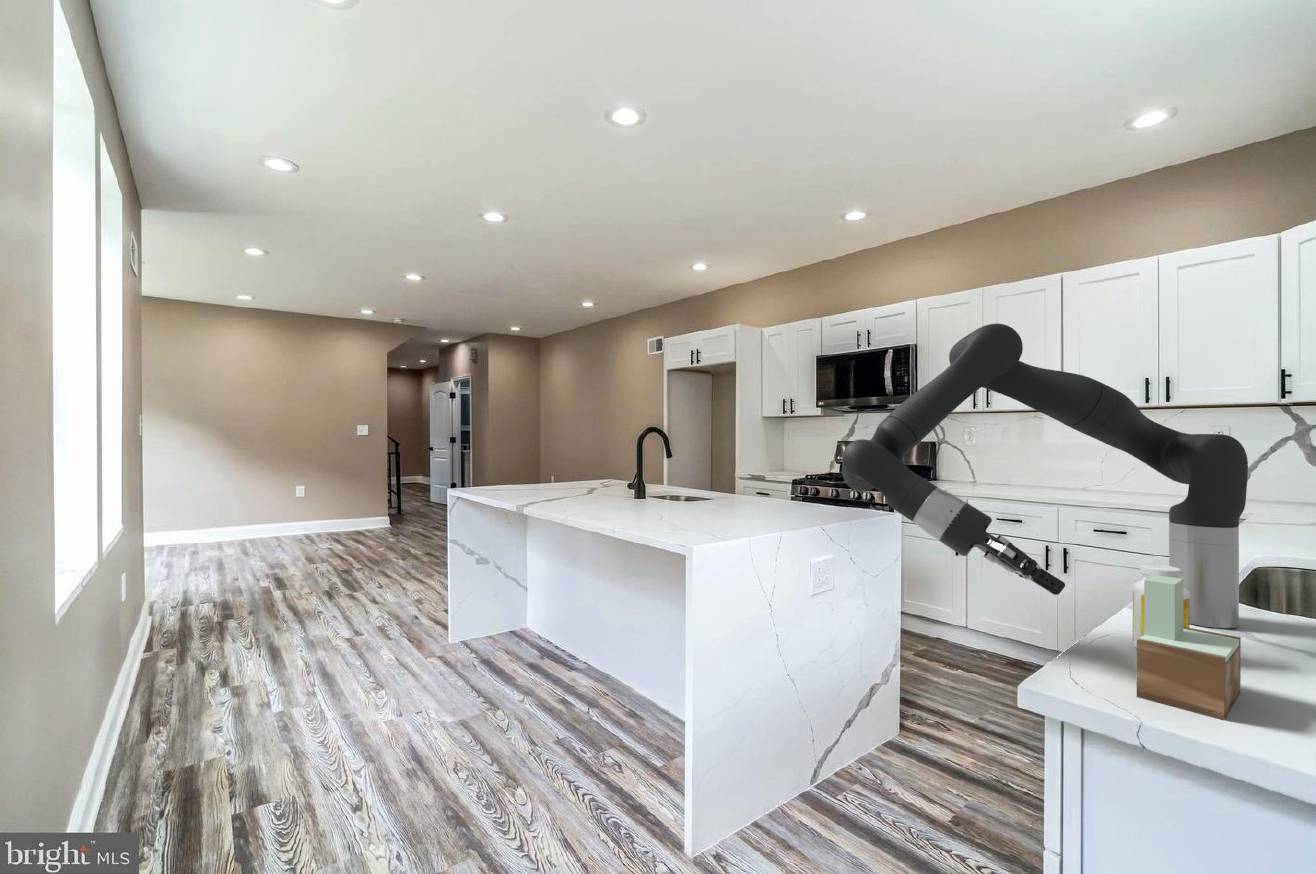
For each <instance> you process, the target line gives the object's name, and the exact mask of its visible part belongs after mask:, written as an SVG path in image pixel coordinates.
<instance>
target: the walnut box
mask: <svg viewBox="0 0 1316 874" xmlns="http://www.w3.org/2000/svg"><path fill="white" fill-rule="evenodd" d="M1183 629H1187V630H1193V631H1198V632H1203V633H1209V634H1214V635H1219V636H1224V637H1230V638H1235V639H1239V646H1238V647H1237V649H1236V650H1235V651H1234V653H1233V654H1232V656H1231V657H1230V658H1229V660H1228V661H1227V662H1225V657H1222V656H1218V655H1213V654H1208V653H1203V652H1198V651H1194V650H1189V649H1184V648H1179V647H1174V646H1170V645H1165V644H1160V643H1155V642H1150V641H1146V640H1141V639H1138V640H1137V648H1136V697H1137V698H1140V699H1144V700H1149V701H1152V702H1155V703H1159V704H1163V705H1167V706H1170V707H1174V708H1177V709H1181V710H1186V711H1188V712H1194V713H1196V714H1200V715H1203V716H1204V715H1205V716H1207V717H1211V718H1212V717H1213V718H1214V719H1215V718H1216V719H1218V718H1219V720H1223V721H1225V719H1226V717H1227V716H1228V715H1229V713H1230V711H1231V709H1232V708H1233V705H1234V704H1235V702H1236V701H1237V700H1238V698H1239V696H1240V694H1241V667H1242V666H1241V660H1242V659H1241V657H1242V655H1241V652H1242V651H1241V639H1242V638H1241V636H1236V635H1230V634H1226V633H1225V634H1224V633H1220V632H1215V631H1214V632H1213V631H1210V630H1203V629H1197V628H1194V627H1193V628H1192V627H1190V628H1188V627H1183Z"/></svg>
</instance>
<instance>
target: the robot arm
mask: <svg viewBox="0 0 1316 874" xmlns="http://www.w3.org/2000/svg"><path fill="white" fill-rule="evenodd" d="M1023 345H1024V344H1023V341H1022V338H1021V336H1020V334H1019V333H1018V331H1016V330H1015V329H1014V328H1012V327H1011V326H1009V325H1008V324H1003V323H990V324H986V325H983V326H980V327H978V328H977V329H975V330H973V331H972V332H970V333H968V334H967V335H965V336H963V337H962V338H960V339H959V340H958V341H957V342H956V343H954V345H953V346H952V347H951V349H950V351H949V354H948V361H949V364H950V365H949V366H948V367H947V368H945V370H943V371H942V372H941V373H939V374H938V375H937V376H936V377H935V378H933V379H932V380H931V381H930V382H928V383H926V384H925V385H924V386H922V387H921V388H920V389H918V390H917V391H915V392H914V393H913V394H912V395H910V396H909V397H908V398H906V399H905V400H904V401H903V402H902V403H900V404H899V405H898V406H897V407H896V408H895V409H894V410H892V412H890V413H889V414H888V415H887V416H886V417H885V418H883V419H882V420H881V422H879V424H878V426H877V427H876V429H875V432H874V434H873V436H872V437H871V438H870V440H869V439H863V438H861V439H856V440H853V441H851V442H849V443H848V444H847V446H846V447H845V448H844V450H843V453H842V460H841V462H842V466H841V467H842V470H841V471H842V472H841V473H842V479H843V480H844V483H845V484H846V485H847V486H848V487H849V488H851V489H852V490H855V491H858V492H859V491H860V492H866V491H871V490H873V489H876V490H877V491H878V492H879V493H881V495H883V497H884V500H885V501H886V504H887V505H888V506H889V507H890V508H891V509H893V510H894V511H895V512H897V513H899V514H901V515H902V516H903V517H905V518H906V519H908V520H910V521H911V522H913V523H914V524H916V526H918V527H919V528H921V529H922V531H923V532H925V533H927V534H928V535H930V536H931V537H932V538H934V539H935V540H937V541H939V542H940V543H942V544H943V545H945V546H947V547H948V548H949V549H950V550H952V551H954V552H956V553H957V554H959V555H960V556H962V557H966V556H968V555H969V553H970V552H971V551H973V549H974V548H977V549H979V550H980V551H982V552H983V553H984V554H983V556H982V557H983V558H984V559H985V560H988V562H990V563H993V564H997V565H998V566H1000V567H1001V568H1003V569H1005V570H1006V571H1008V572H1009V573H1011V574H1012V573H1014V574H1016V575H1018V577H1019V578H1023V579H1024V580H1028V581H1031V582H1033V583H1034V584H1036V585H1038V586H1040V587H1041V588H1042V589H1045V590H1046V591H1047V592H1048V593H1050V594H1052V595H1054V596H1056V595H1059V594H1061V593H1062V591H1064V589H1065V587H1066V584H1065V582H1064V581H1062V580H1061V579H1059V578H1058V577H1056V576H1055V575H1053V574H1052V573H1050V572H1048V571H1047V570H1045V569H1044V568H1042V567H1041V565H1040V564H1039V563H1038V562H1037V560H1036V559H1032V558H1031V556H1029V555H1028V554H1027V553H1026V552H1025V551H1023V550H1022V549H1020V548H1019V547H1017V546H1015V545H1014V544H1013V543H1012V542H1010V540H1009V539H1008V538H1005V537H1004V536H1002V535H1000V534H998V536H995V535H992V534H990V533H988V532H987V530H988V528H989V527H990V525H991V523H992V521H993V519H992V517H991V516H989V515H988V514H986V513H984V512H983V511H982V510H980V509H977V508H976V507H975V506H973V505H971V504H970V503H968V502H966V501H964V500H963V499H961V498H959V497H958V496H957V495H955V494H953V493H951V492H949V491H947V490H945V489H942V488H941V487H938V486H937V485H936V484H934V483H932V482H930V481H929V480H927V479H925V478H924V477H922V476H920V475H919V474H917V473H915V472H913V471H912V470H911V469H910V468H909V467H908V466H907V465H906V464H905V463H904V462H903V461H902V459H903V458H905V456H906V455H907V453H909V452H910V451H911V450H912V449H914V448H915V447H916V446H917V445H919V443H920V442H921V441H922V440H924V439H925V438H926V437H927V436H928V435H929V434H930V433H931V432H932V431H933V430H934V429H935V428H937V427H938V426H939V425H940V424H941V423H942V422H943V421H944V420H945V419H946V418H947V417H948V416H949V415H950V414H951V413H952V412H953V411H954V410H956V409H957V408H958V407H959V406H960V405H961V404H963V403H964V402H965V401H966V400H967V399H968V398H969V397H971V396H972V395H973V394H974V393H977V391H979V390H980V389H981V388H984V389H986V390H990V391H992V392H994V393H997V394H1000V395H1003V396H1005V397H1008V398H1010V399H1013V400H1015V401H1017V402H1019V403H1021V404H1023V405H1025V406H1027V407H1028V408H1031V409H1033V410H1035V411H1037V412H1039V413H1042V414H1043V415H1046V416H1048V417H1049V418H1052V419H1053V420H1055V421H1057V422H1059V423H1061V424H1063V425H1065V426H1066V427H1069V428H1071V429H1073V430H1075V431H1077V432H1079V433H1081V434H1083V435H1085V436H1087V437H1088V436H1089V437H1091V438H1093V439H1095V440H1097V441H1099V442H1102V443H1103V444H1106V445H1108V446H1110V447H1112V448H1115V449H1117V450H1120V451H1122V452H1124V453H1126V454H1128V455H1130V456H1132V457H1134V458H1135V459H1137V460H1139V461H1140V462H1142V463H1144V464H1146V465H1147V466H1149V467H1150V468H1151V469H1153V470H1154V471H1156V472H1157V473H1159V474H1161V475H1163V476H1164V477H1166V478H1167V479H1170V480H1172V481H1173V482H1176V483H1180V484H1183V485H1184V484H1185V485H1188V490H1187V495H1186V496H1185V497H1186V498H1185V499H1183V500H1182V501H1181V502H1179V503H1176V504H1173V505H1171V507H1170V508H1169V511H1168V566H1171V567H1176V568H1179V569H1180V570H1181V577H1180V578H1181V579H1183V587H1185V588H1186V589H1187V590H1188V592H1189V618H1190V621H1189V622H1190V624H1189V625H1191V624H1192V625H1196V626H1201V627H1209V628H1217V629H1234V628H1235V629H1236V628H1238V627H1240V626H1239V625H1240V623H1239V619H1240V613H1239V612H1240V609H1239V608H1240V557H1239V556H1240V535H1239V534H1240V532H1239V531H1240V518H1241V516H1242V515H1243V512H1244V511H1245V508H1246V504H1247V503H1246V502H1247V489H1248V488H1247V487H1248V476H1249V474H1248V473H1249V462H1248V455H1247V452H1246V450H1245V448H1244V446H1243V444H1242V443H1241V442H1240V441H1239V440H1238V439H1236V438H1235V437H1232V436H1230V435H1227V434H1222V433H1221V434H1220V433H1186V432H1181V431H1178V430H1175V429H1173V428H1170V427H1167V426H1165V425H1163V424H1160V423H1157V422H1156V421H1153V420H1151V418H1148V417H1147V416H1146V415H1144V414H1143V412H1142V411H1141V410H1140V408H1139V407H1138V406H1137V405H1136V404H1135V402H1133V401H1132V399H1130V398H1129V397H1128V396H1127V395H1125V394H1124V393H1123V392H1121V391H1119V390H1118V389H1116V388H1114V387H1112V386H1109V385H1107V384H1105V383H1103V382H1101V381H1098V380H1097V379H1093V378H1091V377H1089V376H1086V375H1082V374H1078V373H1073V372H1067V371H1061V370H1055V369H1050V368H1049V369H1048V368H1044V367H1043V368H1042V367H1039V366H1034V365H1031V364H1028V363H1026V362H1023V361H1021V360H1020V359H1021V357H1022V355H1023V349H1024V347H1023ZM1022 564H1023V565H1022Z"/></svg>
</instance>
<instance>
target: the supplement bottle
mask: <svg viewBox="0 0 1316 874" xmlns="http://www.w3.org/2000/svg"><path fill="white" fill-rule="evenodd" d="M1139 571H1140V575H1142V579H1141V580H1137V581H1135V583H1134V584H1133V585H1132V645H1133V647H1134V648H1135V649H1137V640H1138V639H1140V638H1141V637H1142V636H1143V635H1144V580H1146V579H1147V578H1149V577H1151V576H1153V575H1159V576H1166V577H1173V578H1180V577H1181V570H1180V569H1179V568H1176V567H1171V566H1169V565H1165V564H1155V563H1153V564H1151V563H1143V564H1141V565H1140V570H1139ZM1189 621H1190V618H1189V592H1188V590H1187V589H1186V588H1185V587H1183V627H1188V628H1191V627H1190V625H1191V624H1190V622H1189Z"/></svg>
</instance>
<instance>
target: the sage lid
mask: <svg viewBox="0 0 1316 874" xmlns="http://www.w3.org/2000/svg"><path fill="white" fill-rule="evenodd" d="M1140 639H1141V640H1146V641H1150V642H1155V643H1160V644H1165V645H1170V646H1174V647H1179V648H1184V649H1189V650H1194V651H1198V652H1203V653H1208V654H1213V655H1218V656H1222V657H1225V662H1227V661H1228V660H1229V658H1230V657H1231V656H1232V654H1233V653H1234V651H1235V650H1236V649H1237V647H1238V646H1239V639H1235V638H1230V637H1224V636H1219V635H1214V634H1209V633H1203V632H1198V631H1193V630H1187V629H1183V579H1181V578H1173V577H1166V576H1159V575H1153V576H1151V577H1149V578H1147V579H1146V580H1144V635H1143V636H1142V637H1141V638H1140Z"/></svg>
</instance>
